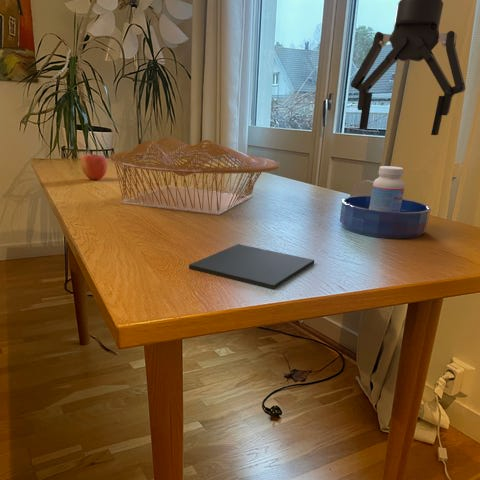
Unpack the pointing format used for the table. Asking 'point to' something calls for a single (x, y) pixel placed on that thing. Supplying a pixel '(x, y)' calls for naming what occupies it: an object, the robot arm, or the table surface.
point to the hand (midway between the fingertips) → (397, 132)
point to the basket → (182, 196)
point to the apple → (94, 166)
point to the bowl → (384, 219)
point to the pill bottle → (387, 190)
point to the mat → (253, 265)
